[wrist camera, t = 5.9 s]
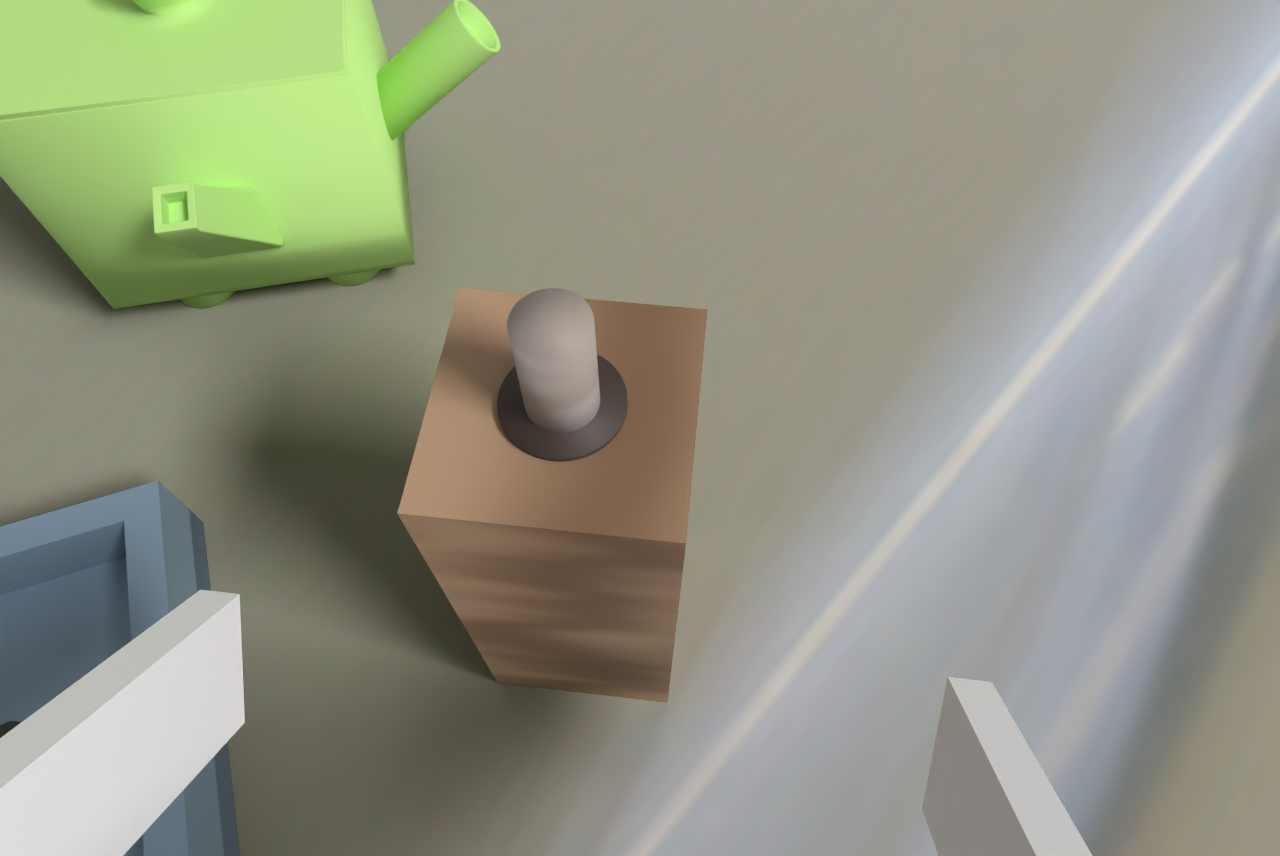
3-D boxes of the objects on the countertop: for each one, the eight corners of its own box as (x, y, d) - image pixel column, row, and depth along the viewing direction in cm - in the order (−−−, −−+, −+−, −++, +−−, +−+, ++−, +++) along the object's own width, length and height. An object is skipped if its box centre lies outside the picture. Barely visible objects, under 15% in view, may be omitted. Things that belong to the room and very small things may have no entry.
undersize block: (497, 682, 25) (355, 442, 13) (528, 526, 28) (434, 196, 15) (667, 702, 25) (693, 477, 12) (682, 542, 27) (717, 220, 15)
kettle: (7, 262, 33) (-252, -12, 24) (268, 61, 39) (146, -222, 30) (294, 439, 29) (123, 197, 20) (534, 185, 35) (494, -96, 26)
